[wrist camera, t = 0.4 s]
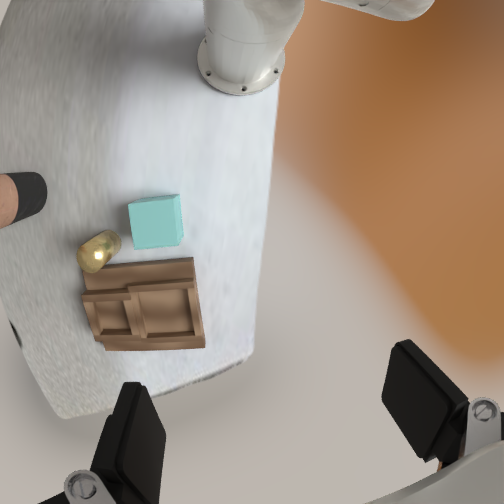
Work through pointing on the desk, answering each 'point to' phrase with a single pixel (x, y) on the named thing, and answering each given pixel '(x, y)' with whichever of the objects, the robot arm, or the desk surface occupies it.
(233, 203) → the desk surface
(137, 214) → the block
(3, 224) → the travel mug
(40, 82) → the desk surface
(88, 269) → the peg
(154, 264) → the organizer
